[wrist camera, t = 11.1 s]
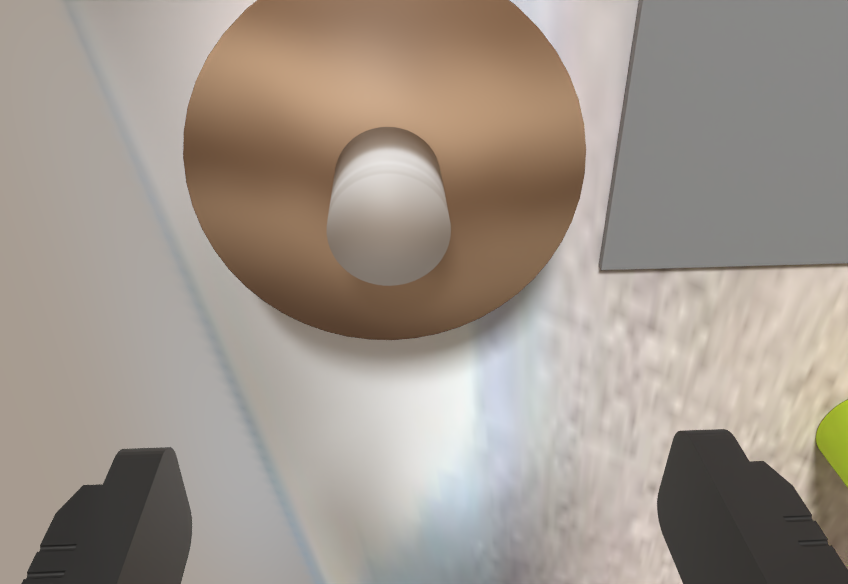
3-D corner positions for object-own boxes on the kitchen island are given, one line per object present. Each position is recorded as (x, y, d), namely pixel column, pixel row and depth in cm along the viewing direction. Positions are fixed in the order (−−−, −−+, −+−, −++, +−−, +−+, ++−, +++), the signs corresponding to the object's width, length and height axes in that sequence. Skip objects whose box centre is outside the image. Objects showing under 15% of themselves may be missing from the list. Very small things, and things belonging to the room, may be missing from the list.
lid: (149, -42, 22) (91, -19, 18) (605, -46, 23) (659, -24, 19) (222, 334, 30) (194, 416, 26) (559, 324, 31) (590, 402, 26)
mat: (650, -77, 28) (654, -77, 28) (1029, -80, 29) (1038, -79, 28) (598, 265, 36) (601, 270, 36) (891, 257, 37) (897, 261, 37)
